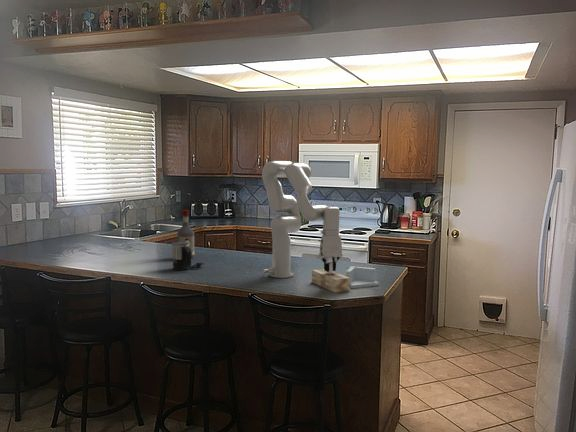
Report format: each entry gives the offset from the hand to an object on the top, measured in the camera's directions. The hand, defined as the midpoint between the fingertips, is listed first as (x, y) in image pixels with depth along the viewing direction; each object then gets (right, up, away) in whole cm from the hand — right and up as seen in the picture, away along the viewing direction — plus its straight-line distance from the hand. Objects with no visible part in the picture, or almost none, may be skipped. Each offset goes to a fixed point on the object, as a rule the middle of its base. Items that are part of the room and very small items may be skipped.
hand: (329, 270), depth 228 cm
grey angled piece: (+14, -7, +6) cm, 17 cm away
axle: (0, -7, +1) cm, 7 cm away
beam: (0, -8, +1) cm, 8 cm away
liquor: (-83, -1, +66) cm, 106 cm away
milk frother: (-76, -4, +38) cm, 85 cm away
